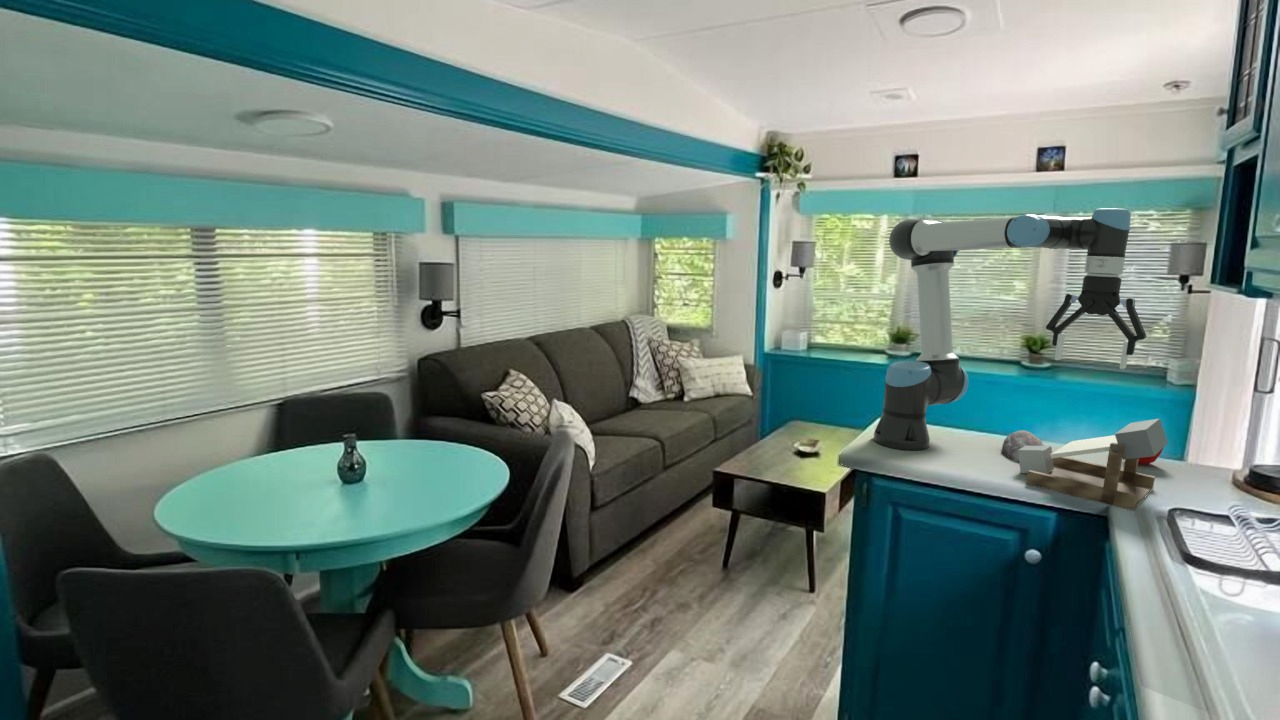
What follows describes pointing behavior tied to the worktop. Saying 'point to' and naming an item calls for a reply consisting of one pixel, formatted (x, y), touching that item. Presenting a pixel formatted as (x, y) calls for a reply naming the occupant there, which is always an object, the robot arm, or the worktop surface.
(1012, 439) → the stone
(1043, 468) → the granite block
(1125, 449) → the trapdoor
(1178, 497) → the worktop surface
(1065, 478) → the wooden trebuchet model
